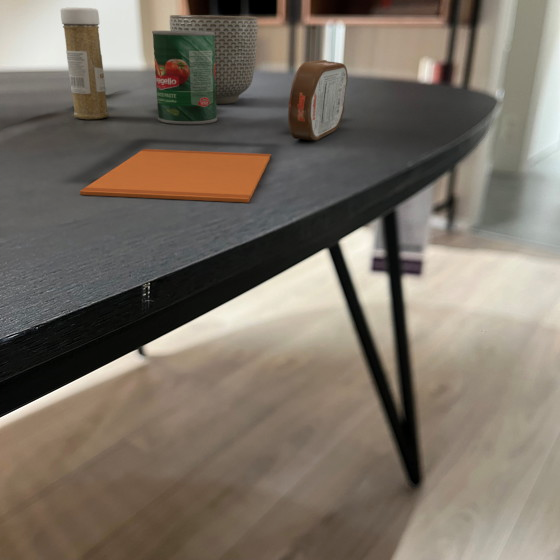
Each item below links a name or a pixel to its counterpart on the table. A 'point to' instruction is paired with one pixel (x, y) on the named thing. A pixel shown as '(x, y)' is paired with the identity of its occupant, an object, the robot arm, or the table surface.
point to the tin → (317, 99)
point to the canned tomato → (185, 76)
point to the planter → (226, 50)
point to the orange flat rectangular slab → (183, 176)
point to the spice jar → (85, 62)
